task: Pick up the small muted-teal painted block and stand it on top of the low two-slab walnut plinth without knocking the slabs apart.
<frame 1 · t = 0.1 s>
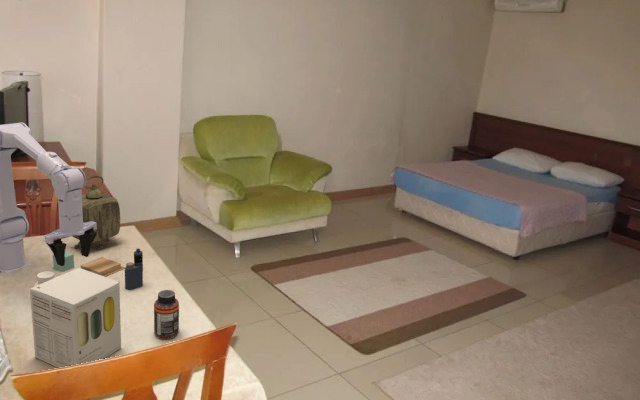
hand: (73, 260, 144), 10 cm above the table, fingers open, 7 cm apart
supplement bottle: (166, 334, 132), on the table
vaping device: (134, 289, 153), on the table
tabletop clock: (96, 248, 177), on the table
supplement box: (79, 353, 121), on the table
top slab: (101, 268, 161), point 1 cm above the table, touching bottom slab
block: (64, 269, 160), on the table
bottom slab: (101, 273, 161), on the table, touching top slab
pill bottle: (47, 308, 138), on the table
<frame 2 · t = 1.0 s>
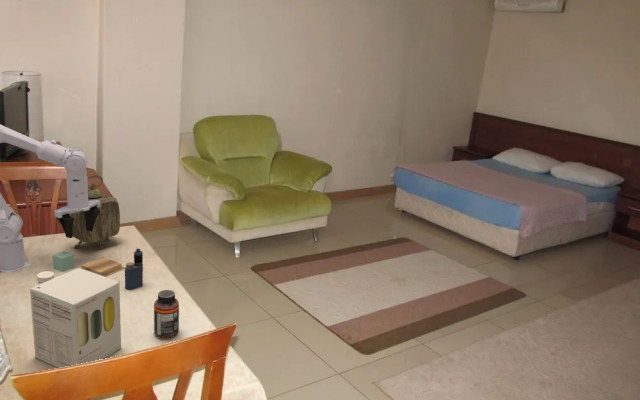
hand: (79, 233, 162), 10 cm above the table, fingers open, 7 cm apart
tabletop clock: (96, 248, 177), on the table, touching gripper
everything else where it was.
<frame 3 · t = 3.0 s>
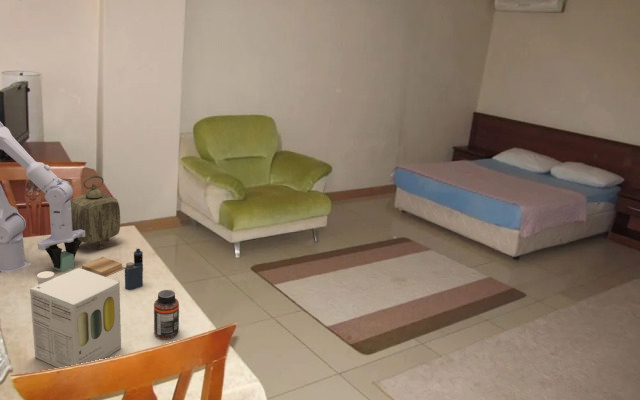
hand: (63, 264, 159), 2 cm above the table, fingers closed on block, 4 cm apart
tabletop clock: (96, 248, 177), on the table
top slab: (102, 268, 161), point 1 cm above the table
block: (64, 269, 160), on the table, touching gripper
bottom slab: (101, 273, 161), on the table
everything else where it was.
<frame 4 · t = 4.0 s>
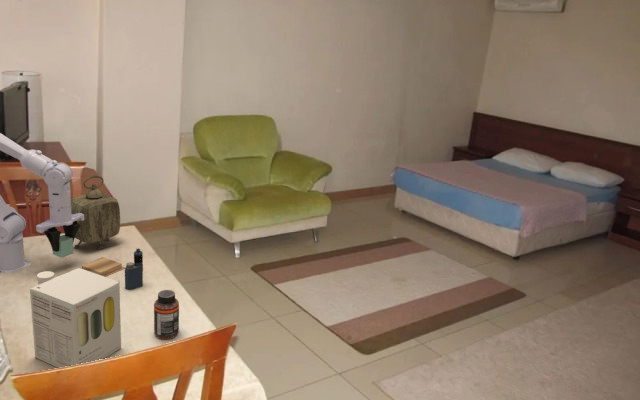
hand: (62, 248, 158), 7 cm above the table, fingers closed on block, 4 cm apart
top slab: (102, 269, 161), point 1 cm above the table, touching bottom slab
block: (63, 253, 158), point 5 cm above the table, touching gripper
bottom slab: (101, 273, 161), on the table, touching top slab
everything else where it was.
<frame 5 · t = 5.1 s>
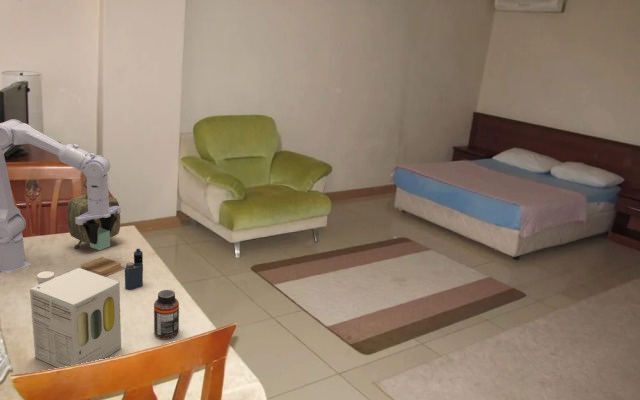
hand: (99, 240, 158), 10 cm above the table, fingers closed on block, 4 cm apart
block: (100, 246, 159), point 8 cm above the table, touching gripper
everything else where it was.
when the fingers open (5 cm above the table, at t = 6.4 s): block drops 1 cm, resting on top slab.
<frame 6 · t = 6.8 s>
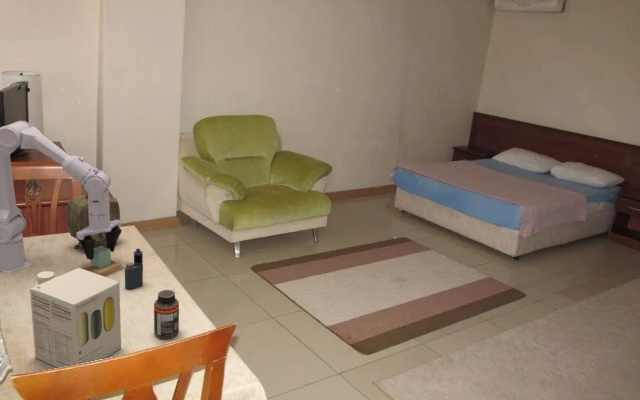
hand: (100, 254, 159), 5 cm above the table, fingers open, 7 cm apart
top slab: (101, 269, 161), point 1 cm above the table, touching block, bottom slab
block: (100, 264, 160), point 2 cm above the table, touching top slab
everything else where it was.
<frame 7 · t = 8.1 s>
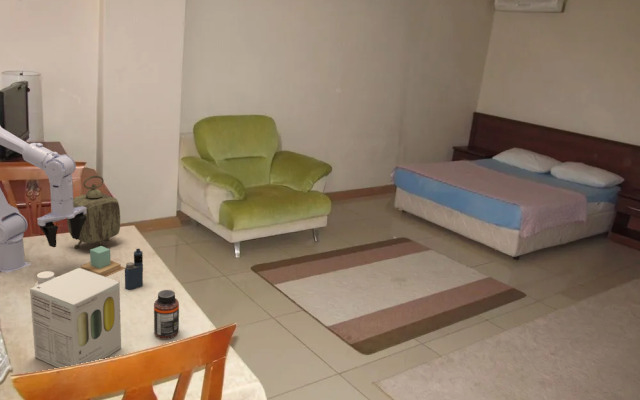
hand: (64, 242, 154), 10 cm above the table, fingers open, 7 cm apart
top slab: (100, 269, 161), point 1 cm above the table
block: (100, 264, 160), point 2 cm above the table
bottom slab: (101, 273, 161), on the table
everything else where it was.
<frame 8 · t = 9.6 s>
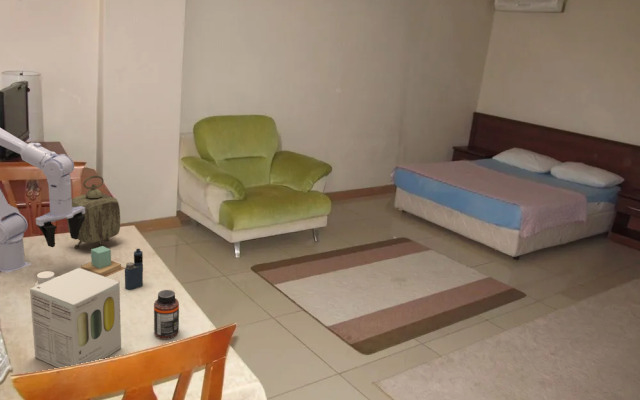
hand: (63, 242, 154), 10 cm above the table, fingers open, 7 cm apart
top slab: (101, 269, 161), point 1 cm above the table, touching bottom slab
bottom slab: (101, 273, 161), on the table, touching top slab
everything else where it was.
at the end: block 0.2 cm off-centre on the top slab, point 1.5 cm above the top slab's base; block tilted 0°; top slab moved 0.9 cm from its start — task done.
